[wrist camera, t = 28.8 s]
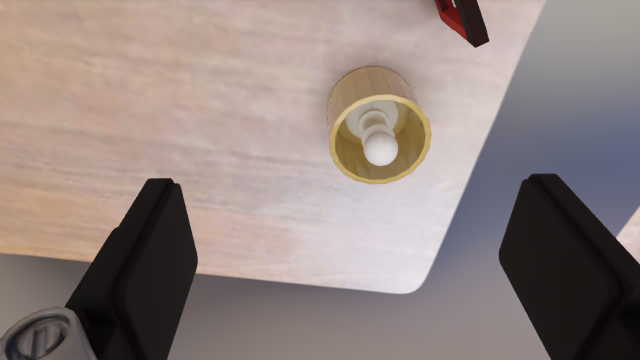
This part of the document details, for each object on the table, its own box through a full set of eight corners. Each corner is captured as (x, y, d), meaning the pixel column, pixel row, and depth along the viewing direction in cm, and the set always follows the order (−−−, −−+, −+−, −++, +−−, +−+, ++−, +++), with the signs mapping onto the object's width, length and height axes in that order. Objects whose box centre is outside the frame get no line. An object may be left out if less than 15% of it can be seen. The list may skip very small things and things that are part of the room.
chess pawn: (394, 131, 41) (412, 181, 33) (344, 134, 41) (352, 185, 33) (396, 83, 38) (417, 126, 30) (343, 87, 38) (350, 130, 31)
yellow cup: (310, 119, 40) (309, 154, 35) (362, 47, 37) (372, 73, 31) (376, 160, 43) (386, 199, 37) (431, 98, 39) (452, 130, 34)
